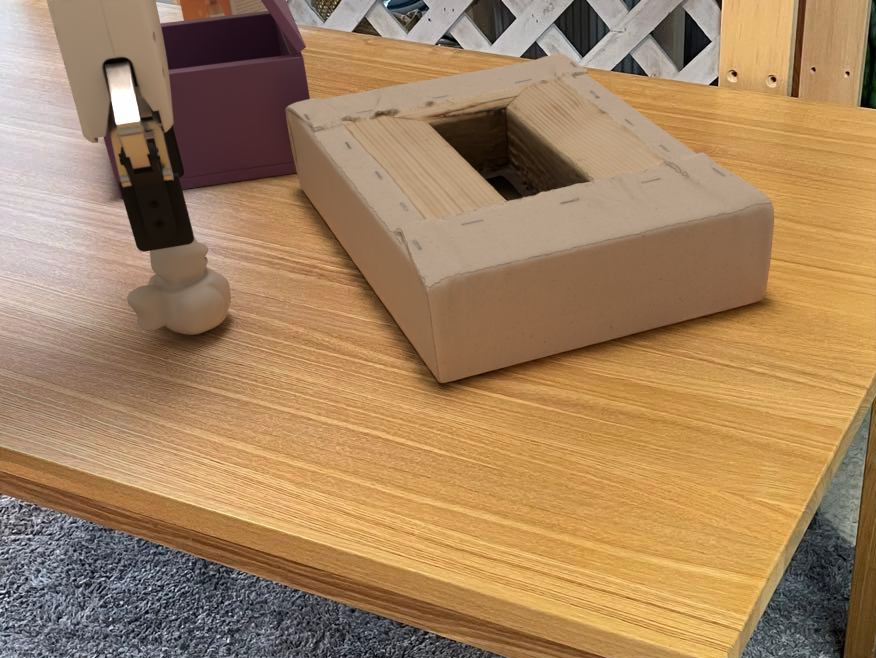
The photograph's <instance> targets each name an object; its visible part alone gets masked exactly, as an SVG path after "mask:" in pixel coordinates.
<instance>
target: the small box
mask: <svg viewBox="0 0 876 658" xmlns="http://www.w3.org/2000/svg"><path fill="white" fill-rule="evenodd" d="M179 4H180V8H181V13H182V19H183V21H185V20H193V19H202V18H210V17H219V16H227V15H236V14H244V13H253V12H262V11H268V10H267V8H266V7H265V5H264V4H263V3H262V1H261V0H179Z"/></svg>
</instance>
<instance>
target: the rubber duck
mask: <svg viewBox="0 0 876 658" xmlns="http://www.w3.org/2000/svg"><path fill="white" fill-rule="evenodd" d="M208 253H209V247H208V245H207V244H204V243H202V242H199V241H198V240H197V238H196V236H194V241H193V242H192V243H191V244H188V245H182V246H176V247H170V248H164V249H158V250H152V251H149V259H150V268H151V271H152V272H153V273H154V274H153V275H151V276H150V277H149V279H148V284H146V285H141V286H138V287H136V288H134V289H133V290H131V291H129V292H128V294H127V296H126V301H127V304H128V306H129V307H130V309H132V311H134V313H135V314H136V320H137V326H138V327H139V328H140V329H142V330H145V331H154V330H158V329H160V328H162V327H166V328H167V329H168V330H170V331H172V332H175V333H179V334H183V335H191V336H192V335H193V336H194V335H195V336H196V335H199V334H202V333H205V332H208V331H210V330H212V329H215V328H216V327H217V326H219V325H220V324H221V323H223V322H224V320H225V319H226V317H227V315H228V313H229V309H230V305H231V300H232V295H231V287H230V283H229V280H228V279H227V278H226V277H225V276H224V275H223V274H221V273H219V272H217V271H216V270H214V269H212V268H209V267H207V266H208V262H209V259H208V257H207V254H208Z"/></svg>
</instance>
